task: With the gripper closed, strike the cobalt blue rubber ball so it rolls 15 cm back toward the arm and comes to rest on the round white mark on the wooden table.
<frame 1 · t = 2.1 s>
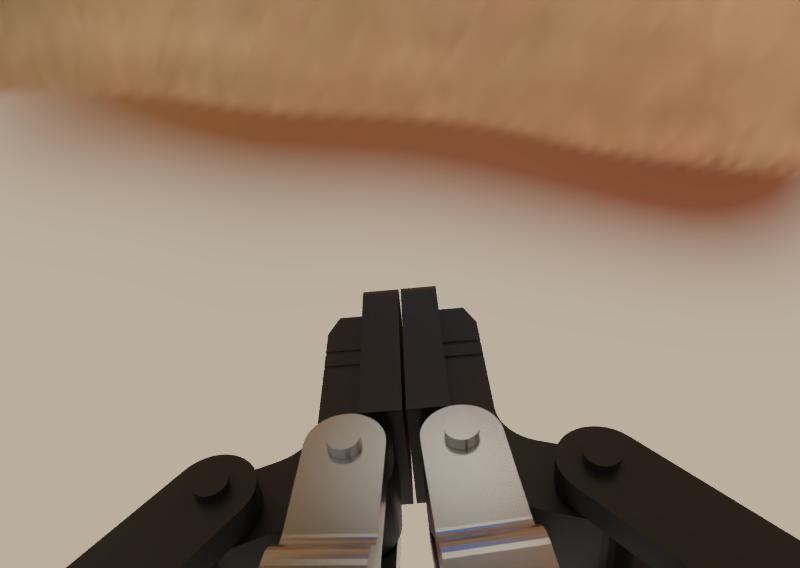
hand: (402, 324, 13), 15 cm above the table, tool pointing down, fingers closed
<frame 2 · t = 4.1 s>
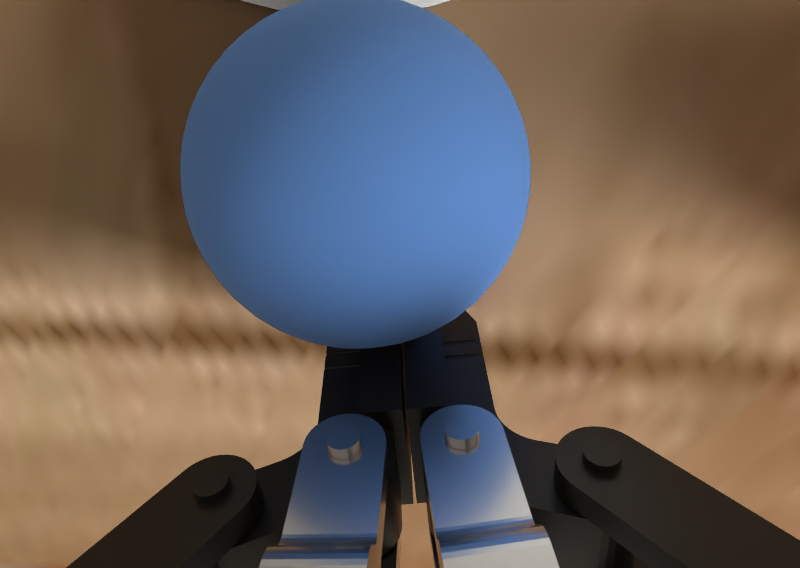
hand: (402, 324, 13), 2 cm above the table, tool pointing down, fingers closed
ball: (358, 179, 10), on the table, touching gripper
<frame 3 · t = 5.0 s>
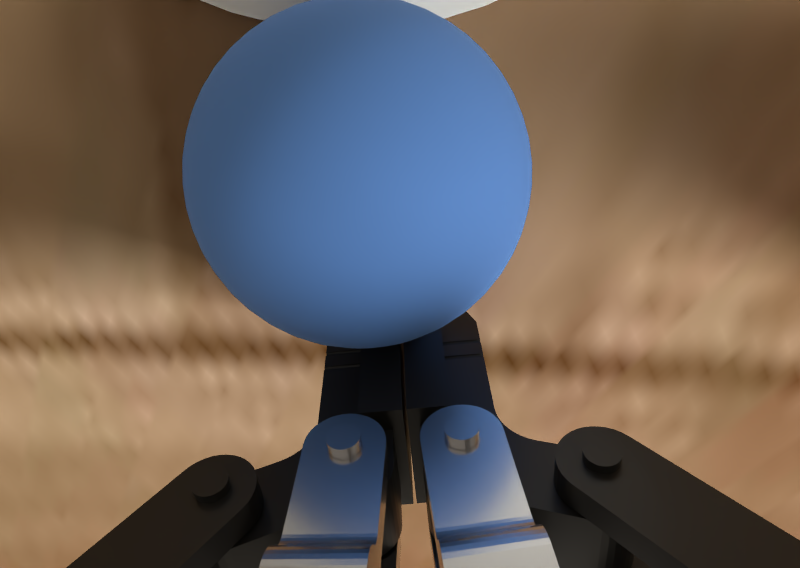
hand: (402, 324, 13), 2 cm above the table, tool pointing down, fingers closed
ball: (360, 179, 10), on the table, touching gripper
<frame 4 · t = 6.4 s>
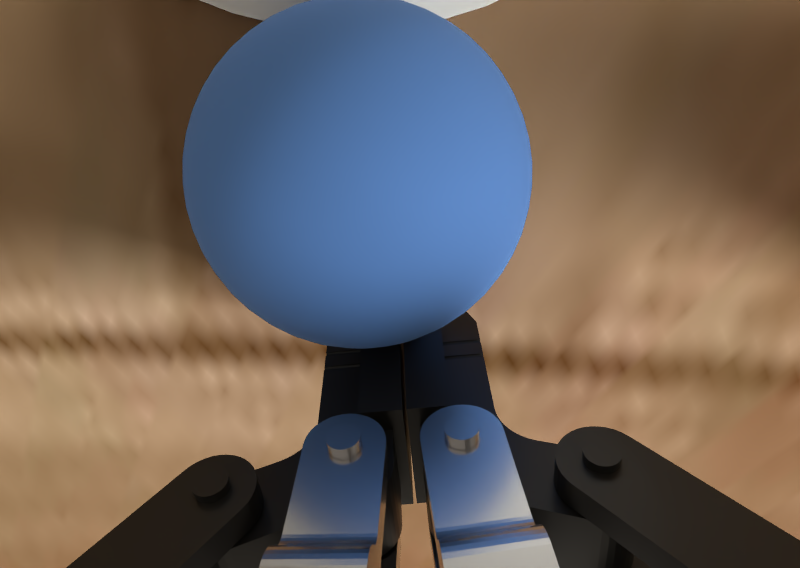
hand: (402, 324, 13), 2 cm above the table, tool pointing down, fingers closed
ball: (360, 179, 10), on the table, touching gripper
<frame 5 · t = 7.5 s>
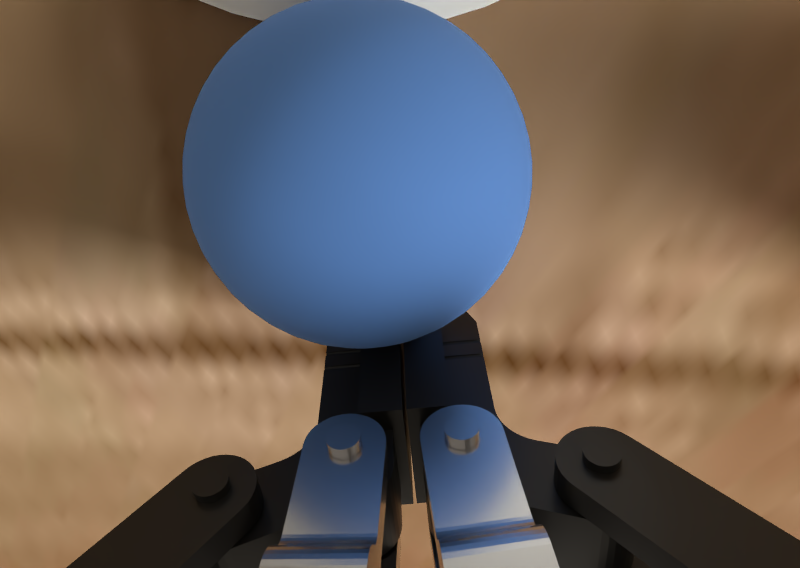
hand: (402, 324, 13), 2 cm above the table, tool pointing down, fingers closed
ball: (360, 179, 10), on the table, touching gripper
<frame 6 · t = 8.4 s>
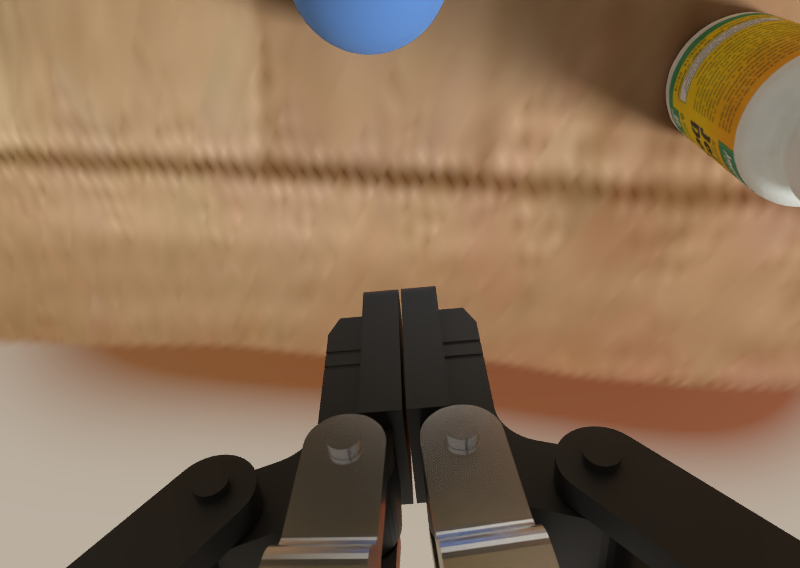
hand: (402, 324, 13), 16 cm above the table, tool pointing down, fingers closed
supplement bottle: (724, 77, 27), on the table
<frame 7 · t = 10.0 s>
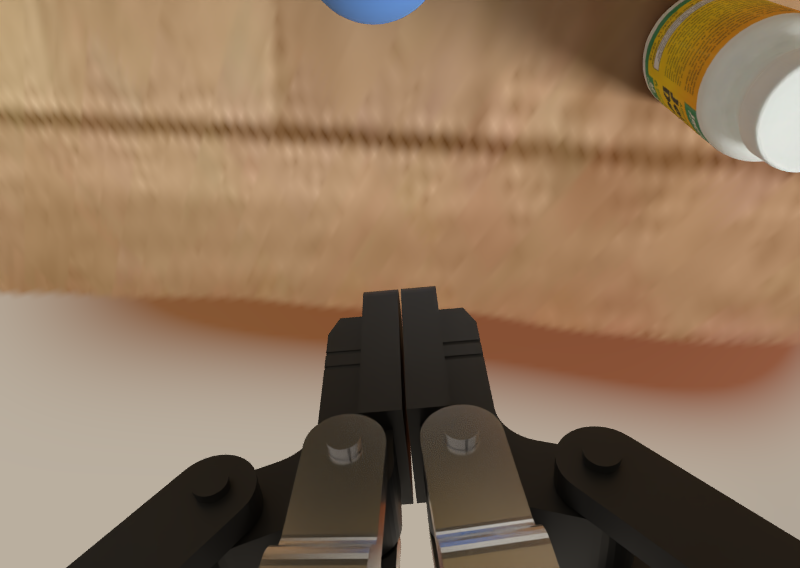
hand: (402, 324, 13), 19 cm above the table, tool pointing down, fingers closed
supplement bottle: (696, 48, 29), on the table
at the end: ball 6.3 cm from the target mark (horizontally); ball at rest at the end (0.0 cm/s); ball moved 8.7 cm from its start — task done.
